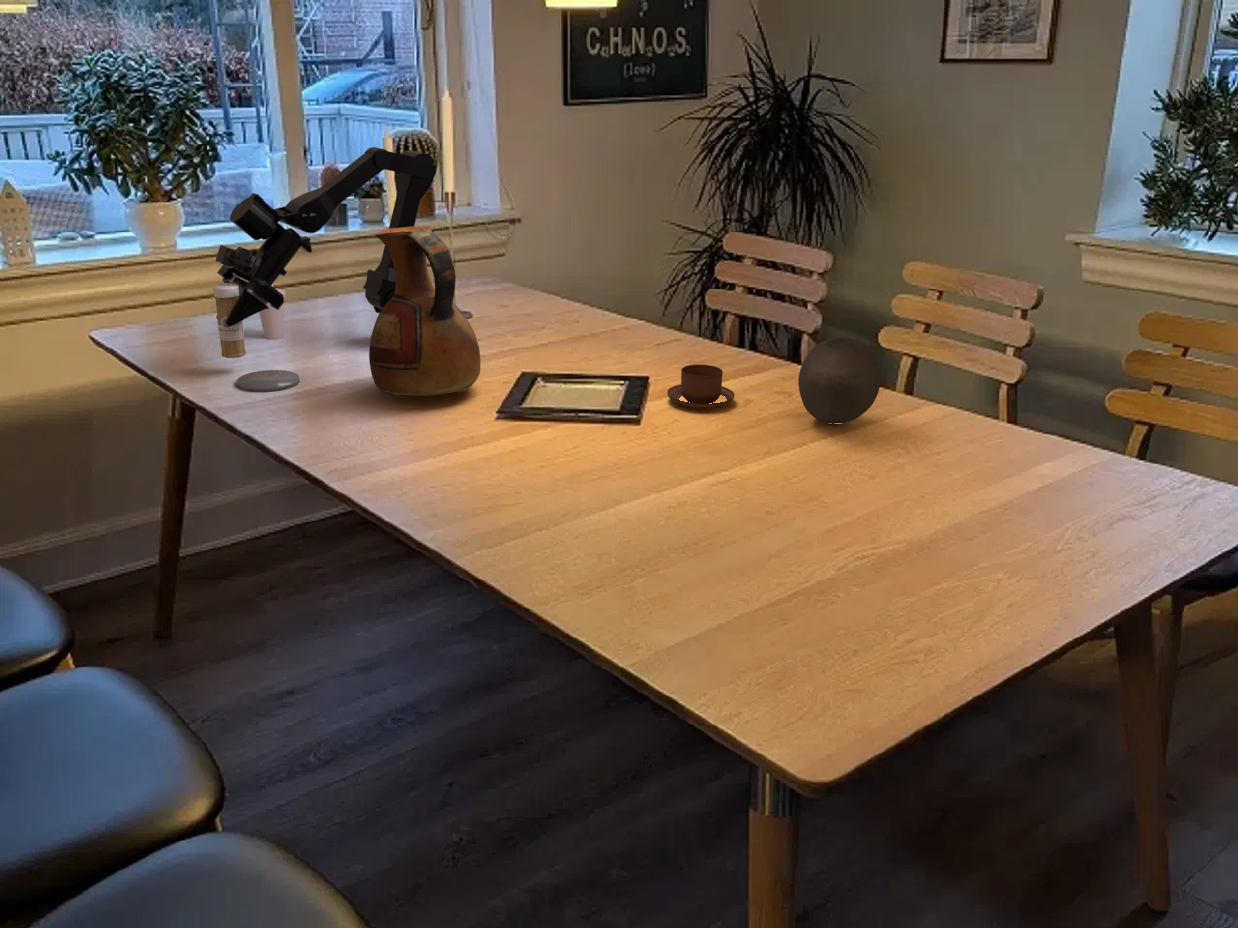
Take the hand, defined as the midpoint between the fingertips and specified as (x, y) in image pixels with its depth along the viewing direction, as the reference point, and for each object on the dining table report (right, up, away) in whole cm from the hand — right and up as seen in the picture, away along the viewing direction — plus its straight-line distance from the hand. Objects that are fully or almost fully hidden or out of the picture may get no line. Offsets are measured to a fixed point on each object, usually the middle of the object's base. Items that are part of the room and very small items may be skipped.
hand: (222, 322), depth 207 cm
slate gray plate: (+9, -11, -1) cm, 14 cm away
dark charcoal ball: (+111, -20, -17) cm, 113 cm away
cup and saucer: (+88, -16, -7) cm, 90 cm away
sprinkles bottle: (+1, -6, +3) cm, 7 cm away
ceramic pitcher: (+39, -13, -5) cm, 41 cm away
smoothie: (+1, 0, +28) cm, 28 cm away
